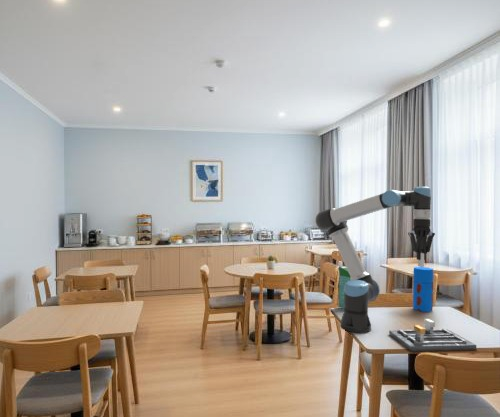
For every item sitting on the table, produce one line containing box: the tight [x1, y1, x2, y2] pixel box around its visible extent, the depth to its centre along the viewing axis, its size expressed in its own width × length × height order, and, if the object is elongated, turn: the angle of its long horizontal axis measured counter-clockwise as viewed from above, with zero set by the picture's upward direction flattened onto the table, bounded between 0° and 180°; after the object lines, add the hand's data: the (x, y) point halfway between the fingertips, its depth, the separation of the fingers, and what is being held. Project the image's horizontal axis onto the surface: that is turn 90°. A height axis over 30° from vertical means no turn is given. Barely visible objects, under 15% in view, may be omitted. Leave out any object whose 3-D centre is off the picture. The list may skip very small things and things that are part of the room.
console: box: [388, 328, 477, 352], centre depth 168 cm, size 30×20×3 cm
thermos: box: [412, 266, 434, 313], centre depth 221 cm, size 11×11×25 cm
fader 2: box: [423, 318, 436, 334], centre depth 173 cm, size 2×5×6 cm, turn 5°
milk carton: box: [338, 265, 351, 309], centre depth 222 cm, size 9×9×25 cm
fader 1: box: [413, 324, 425, 342], centre depth 163 cm, size 2×5×6 cm, turn 5°
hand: (420, 266), depth 179 cm, fingers closed
